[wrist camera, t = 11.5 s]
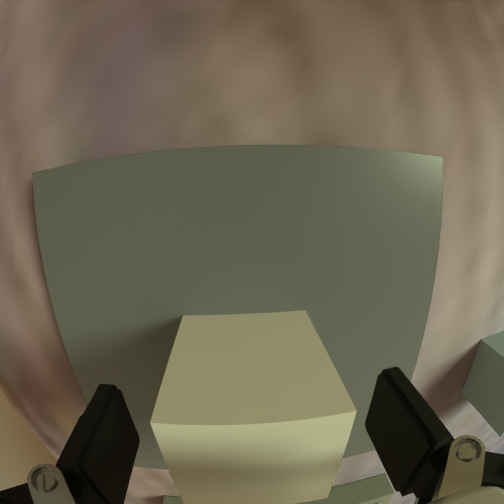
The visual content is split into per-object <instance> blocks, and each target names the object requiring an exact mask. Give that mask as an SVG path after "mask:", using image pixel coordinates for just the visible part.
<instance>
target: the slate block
mask: <svg viewBox="0 0 504 504" xmlns="http://www.w3.org/2000/svg"><path fill="white" fill-rule="evenodd" d="M461 393H462V394H463V395H464V396H465V397H466V398H467V400H468V401H469V402H470V403H471V404H472V405H473V406H474V407H475V408H476V410H477V411H478V412H479V413H480V414H481V415H482V416H483V418H484V419H485V420H486V421H487V422H488V423H489V424H490V426H491V427H492V428H493V429H494V430H495V431H496V433H497V434H498V435H499V436H500V437H502V436H503V435H504V331H502V332H500V333H497V334H494V335H492V336H489V337H486V338H483V339H481V341H480V344H479V347H478V350H477V353H476V356H475V359H474V361H473V364H472V367H471V370H470V372H469V375H468V377H467V380H466V382H465V385H464V387H463V389H462V392H461Z"/></svg>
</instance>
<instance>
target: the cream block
mask: <svg viewBox="0 0 504 504" xmlns="http://www.w3.org/2000/svg"><path fill="white" fill-rule="evenodd" d="M356 412H357V410H356V408H355V406H354V404H353V402H352V400H351V398H350V396H349V394H348V392H347V390H346V388H345V386H344V384H343V382H342V380H341V378H340V376H339V374H338V372H337V371H336V369H335V367H334V365H333V363H332V361H331V359H330V357H329V355H328V353H327V351H326V349H325V347H324V345H323V343H322V341H321V339H320V338H319V336H318V334H317V332H316V330H315V328H314V326H313V324H312V322H311V320H310V318H309V316H308V315H307V313H306V311H305V310H304V311H290V312H274V313H254V314H230V315H189V316H183V317H182V320H181V323H180V326H179V329H178V332H177V336H176V339H175V342H174V345H173V348H172V351H171V354H170V358H169V361H168V364H167V367H166V370H165V374H164V377H163V380H162V384H161V387H160V390H159V394H158V397H157V401H156V404H155V407H154V411H153V414H152V418H151V421H150V424H151V427H152V429H153V432H154V435H155V437H156V440H157V443H158V445H159V448H160V450H161V453H162V456H163V458H164V460H165V463H166V465H167V468H168V470H169V472H170V475H171V477H172V479H173V481H174V484H175V486H176V488H177V490H178V492H179V494H180V496H181V498H182V500H183V503H184V504H294V503H301V502H308V501H314V500H319V499H325V498H327V497H328V495H329V493H330V490H331V488H332V485H333V482H334V480H335V477H336V474H337V472H338V469H339V466H340V463H341V460H342V457H343V454H344V451H345V448H346V445H347V442H348V439H349V436H350V433H351V429H352V426H353V422H354V419H355V415H356Z"/></svg>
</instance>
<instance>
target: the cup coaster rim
mask: <svg viewBox="0 0 504 504" xmlns="http://www.w3.org/2000/svg"><path fill="white" fill-rule="evenodd" d="M393 493H394V491H393V489H392V487H391V485H390V483H389V481H388V479H387V476H386V474H385V473H384V474H381V475H378V476H375V477H371V478H368V479H364V480H360V481H356V482H353V483H348V484H344V485H340V486H335V487H332V488H331V490H330V493H329V495H328V497H327V498H325V499H319V500H314V501H308V502H301V503H294V504H386V503H387V502H388V500H389V499H390V498H391V496H392V495H393ZM163 504H184V503H183V500H182V498H181V497H172V496H164V498H163Z"/></svg>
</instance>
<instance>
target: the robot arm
mask: <svg viewBox="0 0 504 504" xmlns="http://www.w3.org/2000/svg"><path fill="white" fill-rule="evenodd" d="M365 428H366V431H367V433H368V435H369V437H370V439H371V441H372V443H373V445H374V447H375V449H376V451H377V453H378V455H379V457H380V460H381V462H382V464H383V466H384V468H385V470H386V472H387V474H388V476H389V478H390V480H391V482H392V485H393V487H394V489H395V490H396V491H397V492H398V491H400V493H401V495H402V497H403V496H405V495H408V494H410V493H413V492H414V494H415V496H416V500H415V502H414V504H504V454H498V453H492V452H486V451H485V446H484V444H483V442H482V441H481V440H480V439H478V438H477V437H475V436H471V435H463V436H460V437H458V438H456V439H454V438H453V437H452V435H451V434H450V433H449V431H448V430H447V429H446V427H445V426H444V424H443V423H442V422H441V420H440V419H439V418H438V417H437V415H436V414H435V413H434V411H433V410H432V409H431V407H430V406H429V405H428V403H427V402H426V401H425V400H424V398H423V397H422V396H421V395H420V393H419V392H418V391H417V390H416V388H415V387H414V386H413V384H412V383H411V382H410V381H409V379H408V378H407V377H406V376H405V374H404V373H403V372H402V371H401V369H400V368H399V367H397V366H396V367H392V368H387V369H383V370H382V372H381V374H379V375H378V377H377V381H376V385H375V388H374V392H373V396H372V400H371V403H370V407H369V410H368V414H367V417H366V420H365ZM139 443H140V438H139V434H138V432H137V430H136V427H135V425H134V422H133V420H132V417H131V415H130V412H129V410H128V407H127V404H126V402H125V399H124V396H123V394H122V391H121V390H120V389H118V388H117V387H116V385H111V384H100V385H99V386H98V388H97V390H96V391H95V393H94V395H93V397H92V399H91V401H90V402H89V404H88V406H87V408H86V410H85V412H84V414H83V415H81V417H80V418H79V420H78V422H77V424H76V426H75V427H74V429H73V431H72V433H71V435H70V437H69V439H68V441H67V443H66V445H65V447H64V449H63V451H62V453H61V455H60V458H59V460H58V462H57V464H56V466H53V465H51V464H46V463H45V464H39V465H37V466H35V467H34V468H32V469H31V471H30V472H29V474H28V477H27V482H28V483H25V484H22V485H19V486H16V487H13V488H9V489H6V490H3V491H0V504H124V500H125V496H126V492H127V488H128V484H129V480H130V477H131V473H132V469H133V465H134V462H135V458H136V454H137V451H138V447H139Z"/></svg>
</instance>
